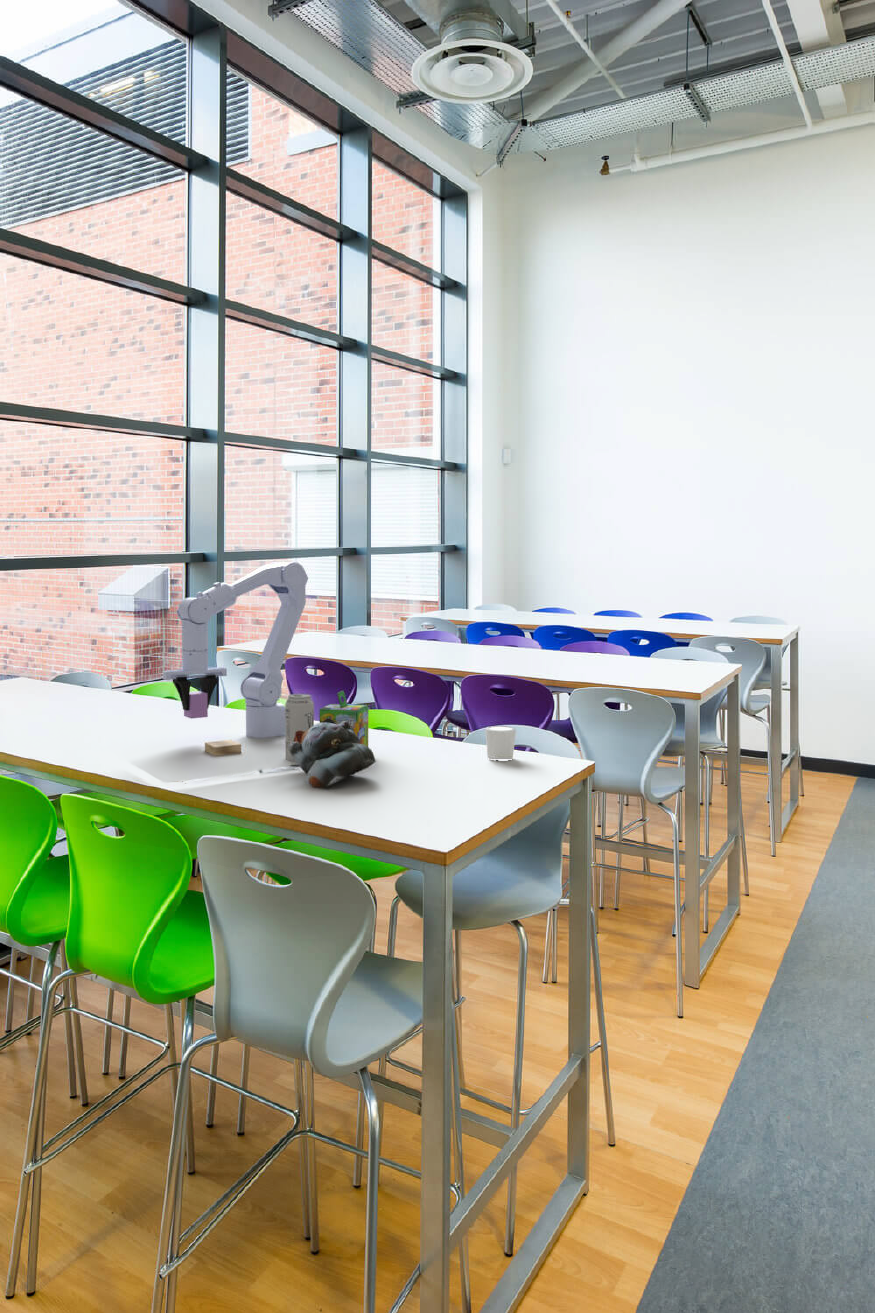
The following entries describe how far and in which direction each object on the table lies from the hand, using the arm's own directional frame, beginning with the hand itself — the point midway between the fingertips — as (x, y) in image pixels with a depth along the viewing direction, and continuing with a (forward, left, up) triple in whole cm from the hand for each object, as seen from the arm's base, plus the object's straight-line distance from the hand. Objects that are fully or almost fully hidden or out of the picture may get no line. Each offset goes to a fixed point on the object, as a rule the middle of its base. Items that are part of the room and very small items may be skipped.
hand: (195, 709), depth 206 cm
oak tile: (-1, +12, -8) cm, 15 cm away
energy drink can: (-12, +27, -10) cm, 31 cm away
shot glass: (-52, +47, -10) cm, 71 cm away
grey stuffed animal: (-10, +44, -10) cm, 46 cm away
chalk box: (-24, +26, -10) cm, 37 cm away
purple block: (0, 0, -2) cm, 2 cm away
